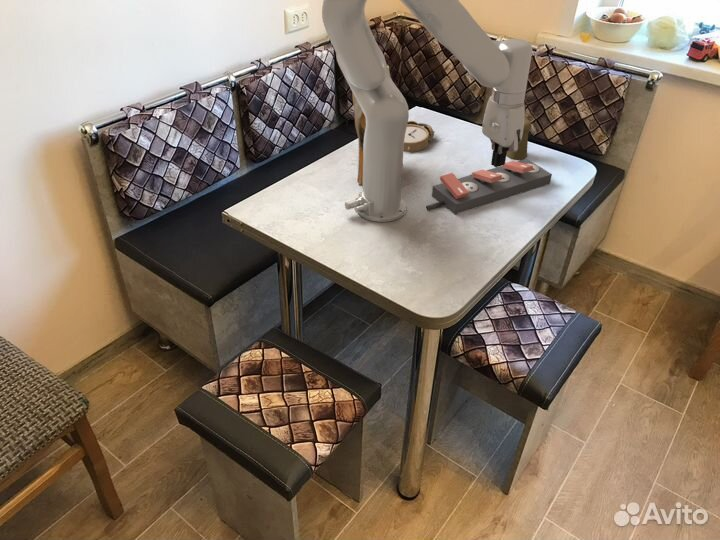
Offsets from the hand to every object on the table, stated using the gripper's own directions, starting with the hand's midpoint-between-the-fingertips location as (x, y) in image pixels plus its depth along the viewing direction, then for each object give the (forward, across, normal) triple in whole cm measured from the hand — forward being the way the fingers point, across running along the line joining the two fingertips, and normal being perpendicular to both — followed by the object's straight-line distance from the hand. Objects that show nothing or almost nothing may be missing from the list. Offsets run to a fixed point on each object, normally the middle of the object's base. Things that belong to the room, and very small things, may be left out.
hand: (497, 164), depth 156 cm
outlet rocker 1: (+6, -3, -11) cm, 13 cm away
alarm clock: (+10, -37, -1) cm, 38 cm away
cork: (+10, -15, +21) cm, 27 cm away
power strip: (+9, -3, -1) cm, 10 cm away
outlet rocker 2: (+6, -2, -1) cm, 6 cm away
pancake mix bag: (+9, -26, -21) cm, 35 cm away
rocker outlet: (+6, -2, +10) cm, 12 cm away
